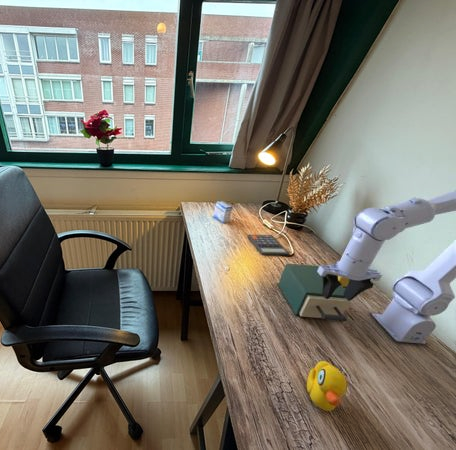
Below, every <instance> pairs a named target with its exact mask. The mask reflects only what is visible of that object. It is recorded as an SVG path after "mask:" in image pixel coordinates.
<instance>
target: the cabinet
mask: <svg viewBox="0 0 456 450" xmlns="http://www.w3.org/2000/svg"><path fill="white" fill-rule="evenodd" d="M319 266H320V265H310V264H300V263H299V264H298V263H285V265H284V267H283V270H282V272H281V273H282V274H281V275H280V278H279V281H278V287H279V289H280V290H281V292H282V294H283V296H284V297H285V299H286V301H287V303H288V305H289V306H290V308H291V309H292V312H293V313H294V314H295V316H300V314H299V312H300V310H301V308H302V306H303V303H304V301H305V299H306V297H307V295H318V296H323V295H322V290H323V278H322V276H321V275H320V274H319V273H318V272H317V271H318V268H319ZM345 289H346V288H345V287H343V286H342V285H340V286H339V287H338V288H337V289H336V290H335V291H334V292H333V294H332V295H331V297H341V298H345V297H344V296H343V295H344V291H345Z"/></svg>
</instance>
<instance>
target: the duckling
mask: <svg viewBox="0 0 456 450" xmlns="http://www.w3.org/2000/svg"><path fill="white" fill-rule="evenodd" d="M347 389H348V382H347V378H346V377H345V374H344V373H342V371H340V370H339V369H338V368H337V367H336V366H334V365H332V363H330V362H329V361H326V360H321V361H319V362H318V363H317V364H316V365H315V367H312V368H311V369H310V371H309V373H308V376H307V381H306V391H307V393H308V394H309V397H310V399H311V401H312V403H313V404H314V405H315V406H316V407H318V408H319V409H321V410H323V411H325V412H332V411H333V410H335V408H336V407H338V406H339V405H340V398H342V397H343V396H344V395H345V394H346V392H347Z"/></svg>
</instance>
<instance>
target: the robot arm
mask: <svg viewBox="0 0 456 450" xmlns="http://www.w3.org/2000/svg"><path fill="white" fill-rule="evenodd" d="M451 212H456V190H453V191H450V192H447V193H444V194H441V195H439V196H436V197H433V198H430V199H424V198H420V197H411V198H408V200H405V201H402V202H399V203H395V204H392V205H387V206H384V207H382V208H378V207H368V208H367V207H366V208H364V209H361V211H359V212H358V214H357V215H354V216H353V219H352V222H353V226H354V227H353V229H352V236H351V238H350V240H349V242H348V243H347V246H346V248H345V250H344V252H343V253H342V255H341V258H340V260H337V262H336V263H333V264H328V265H318V266H319V268H318V271H317V272H318V273H319V274H320V275H321V276H322V278H323V290H322V295H323V296H324V297H325V299H329V298H330V297H331V295H332V294H333V292H334V291H335V290H336V289H337V288H338V287H339V286H340V285H342V284H341V283H340V282H339V281H338V279H339V278H338V276H340V277H344V278H348V279H349V282H348V285H347V287H345V288H344V289H345V291H344V295H343V296H344V297H345V298H346V299H347V300H348V301H350V302H351V301H352V300H354V299H355V298H356V297H357V296H359V295H360V294H362V293H363V292H365V291H367V290H369V289H372V288H373V287H374V282H372V281H371V280H373V281H375V282H379V281H380V280H381V278H382V277H383V274H382V273H381V272H379V271H378V270H377V269H370V267H371V266H372V264H373V262H374V261H375V259H376V257H377V255H378V254H379V252H380V250H381V248H382V247H383V245H384V243H385V241H389V240H392V239H393V238H395V237H396V236H397V235H398V234H400V233H402V232H404V231H405V230H406V229H409V228H414V227H417V226H421V225H424V224H428V223H430V222H432V221H433V220H434V218H435V216H437V215H441V214H446V213H451ZM455 280H456V239H455V240H454V241H453V242H451V244H450V245H448V247H446V248H445V249H444V250H443V251H442V252H441V253H440V254H439V255H438V256H437V257H436V258H435V259H434V260H433V261H431V263H430V264H429V265H428V266H427V267H425V268H424V269H423V270H408V271H407V272H406V273H404V274H403V275H401V276H399V277H398V278H396V279H395V280H394V281H393V283H392V285H391V289H392V291H393V292H392V296H393V298H392V300H391V301H390V303H389V304H388V305H387V307H386V308H385V309H384V311H383V312H382V313H372V314H371V315H372V318H374V319H375V320H376V321H377V322H378V323H379V325H380V326H381V327H383V329H384V330H385V331H386V332H387V333H388V334H389V335H390V337H392V338H393V340H394V341H395V342H399V343H408V344H409V343H411V344H422V345H425V344H426V340H427V339H428V337H429V336H430V335H431V334H432V333H433V332H434V331H435V329H436V327H437V325H436V323H435V321H434V320H433V319H432V317H433V316H437V315H441V314H442V313H444V312H445V311H446V310H447V309H448V307H449V305H450V304H451V302H452V301H453V300H454V299H455V298H456V296H455V293H454V291H453V289H452V286H451V283H452V282H453V281H455ZM431 316H432V317H431Z"/></svg>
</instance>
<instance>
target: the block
mask: <svg viewBox="0 0 456 450" xmlns="http://www.w3.org/2000/svg"><path fill="white" fill-rule="evenodd" d="M338 278H339V279H338V281H339V282H340V283H341V284H342V287H343V288H346V287H347V285H348V282H349V279H348V278H344V277H340V276H338Z"/></svg>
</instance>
